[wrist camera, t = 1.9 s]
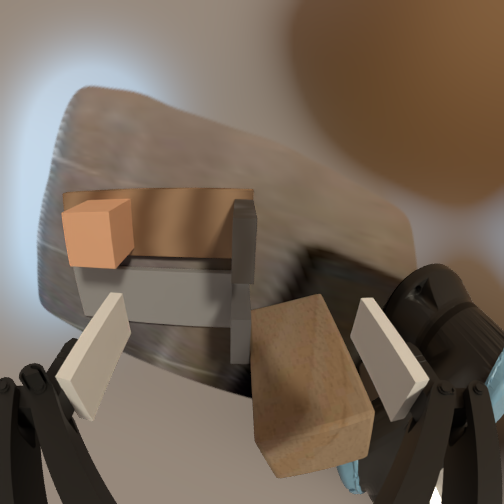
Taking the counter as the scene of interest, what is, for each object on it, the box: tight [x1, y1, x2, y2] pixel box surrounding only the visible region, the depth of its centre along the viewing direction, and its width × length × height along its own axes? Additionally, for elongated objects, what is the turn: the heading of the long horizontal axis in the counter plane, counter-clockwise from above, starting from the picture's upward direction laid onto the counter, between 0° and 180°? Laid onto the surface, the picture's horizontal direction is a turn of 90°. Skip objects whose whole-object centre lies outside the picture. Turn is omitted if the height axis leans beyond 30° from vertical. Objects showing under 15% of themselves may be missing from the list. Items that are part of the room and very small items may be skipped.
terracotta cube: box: [62, 199, 134, 269], centre depth 28 cm, size 6×6×6 cm
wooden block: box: [250, 294, 375, 478], centre depth 29 cm, size 10×10×20 cm
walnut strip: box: [63, 188, 257, 284], centre depth 28 cm, size 24×8×9 cm, turn 87°
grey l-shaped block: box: [73, 266, 251, 364], centre depth 31 cm, size 24×8×9 cm, turn 87°
